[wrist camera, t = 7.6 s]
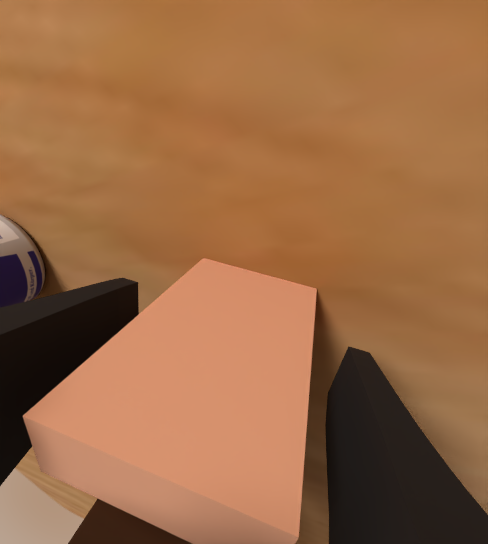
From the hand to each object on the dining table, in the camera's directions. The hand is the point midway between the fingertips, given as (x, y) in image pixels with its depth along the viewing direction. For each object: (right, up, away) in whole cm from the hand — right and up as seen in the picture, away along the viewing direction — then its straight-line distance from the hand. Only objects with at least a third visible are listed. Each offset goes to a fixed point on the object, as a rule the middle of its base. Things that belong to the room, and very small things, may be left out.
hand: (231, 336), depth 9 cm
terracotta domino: (+1, +1, +3) cm, 3 cm away
